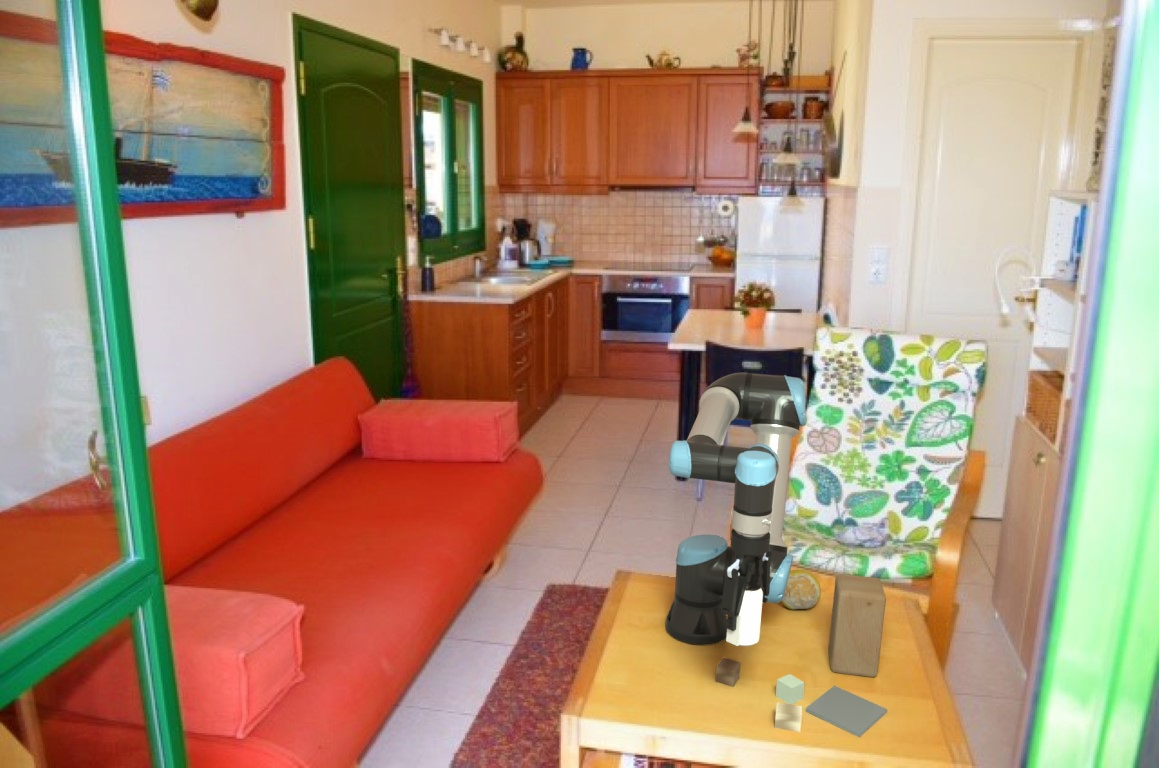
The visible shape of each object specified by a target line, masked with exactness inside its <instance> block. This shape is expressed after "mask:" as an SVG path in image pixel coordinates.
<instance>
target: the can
mask: <svg viewBox="0 0 1159 768" xmlns="http://www.w3.org/2000/svg"><path fill="white" fill-rule="evenodd" d="M762 599H763V592H762V589H761V584H760V583H755V582H752V581H750V582H749V583H747V586H746V589H745V593H744V597H743V601H742V605H741V609H740V613H739V614H741V615H742V621H741V634H740V645H739V646H741V647H751V646H754V645H756V644H758V642H759V641H760V636H761V626H762V625H761V624H762V621H761V620H762V611H763V609H762V608H763V602H762Z"/></svg>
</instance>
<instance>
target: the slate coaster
mask: <svg viewBox="0 0 1159 768" xmlns="http://www.w3.org/2000/svg"><path fill="white" fill-rule="evenodd" d="M805 712H806V713H809V714H810V715H813V716H814V717H816V718H818V719H821V720H823V721H825V722H826V723H830V724H831V725H833V726H836V727H837V728H840V729H841V730H844V731H845V732H847V733H850V734H852V735H854V736H856V737H858V738H860V737H861V736H863V735H864V734H865V733H866V732H867V731H868V730H870V729H871V727H872V726H874V725H875V724H876V723H877V722H878V721H879V720H880V719H882V718H883V717H884V716H885V715H886V714H887V713H888V708H886V707H883V705H882V706H881V705H879V704H877V703H874V702H872V701H870V700H868V699H867V698H864V697H862V696H859V695H856V694H855V693H852V692H850V691H849V690H848V691H847V690H845V689H843V688H841V687H839V686H837V685H833V686H832V687H831V688H829V689H828V690H827V691H825V692H824V693H823V694H821V695H820V696H819V697H817V698H816V699H815V700H814V701H813V702H811V703H810V704H809V705H807V706H806V707H805Z"/></svg>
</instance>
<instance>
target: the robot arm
mask: <svg viewBox="0 0 1159 768" xmlns="http://www.w3.org/2000/svg"><path fill="white" fill-rule="evenodd" d="M805 387H806V385H805V382H804V381H803V379H801V378H800V377H794V376H787V375H786V374H784V375H779V374H776V375H775V374H764V373H751V372H750V373H749V372H734V373H731V374H730V373H729V374H727V375H724V376H722V377H720V378H718V379H717V380H715V381H713V382H712V383H711V384H710V385H708V386H707V387H706V388H705V389H704V391H703V392H702V395H701V397H700V400H699V403H698V404H699V411H698V414H697V417H696V419H695V420H694V423H693V426H692V427H691V430H690V431H689V434H688V437H687V439H686V440H685V439H684V440H675V441H673V442H672V444H671V447H670V448H669V449H670V451H669V456H668V470H669V472H670V474H671V475H672V476H676V477H680V478H685V479H693V480H694V479H696V480H704V481H712V482H713V481H714V482H719V483H720V482H722V483H729V484H734V493H733V495H734V497H733V505H732V507H733V508H732V516H731V517H732V519H731V527H732V529H731V533H730V546H729V543H728V541H727V539H726V538H724V537H723V536H720V535H717V534H707V533H706V534H697V535H693V536H689V537H686V538H685V539H683V540H682V541H680V543H679V544H678V547H677V553H676V558H675V563H676V564H675V565H676V567H675V582H674V583H675V587H674V598H673V601H672V603H671V605H670V607H669V609H668V612H667V615H666V619H665V629H666V630H665V631H666V632H667V633H668V634H669V635H670V636H671V637H672V638H674V639H675V640H677V641H680V642H683V643H686V644H689V645H697V646H709V645H714V644H717V643H721V642H722V641H724V640H725V641H726V642H727V643H729V644H732V645H734V646H736V647H739V646H740V634H741V621H742V615H741V614H739V613H740V609H741V605H742V601H743V597H744V593H745V589H746V586H747V583H749V582H750V581H752V582H755V583H760V584H761V589H762V592H763V599H762V604H767V603H771V604H778V603H782V602H781V601H782V600H783V598H784V594H785V591H786V587H787V583H788V578H789V574H790V571H791V570H792V565H793V560H794V556H793V555H792V554H790V553H788V548H789V547H788V544H786V542H785V541H784V539H783V531H784V520H785V510H786V501H787V500H786V499H787V492H788V491H787V490H788V482H789V481H788V479H789V470H790V460H791V459H790V458H791V450H792V440H793V439H794V438H795V437H796V436H797V435H799V433H800V428H801V427H805V426H806V425H807V417H806V414H807V413H806V412H807V411H806V391H805V390H806V389H805ZM734 420H743V421H750V429H751V430H752V432H753V434H754V435H755V437H754V438H755V439H754V444H753V445H751V446H749V447H740V446H732V445H731V446H730V445H723V444H724V441H725V439H726V436H727V434H728V430H729V427H730V424H731V422H732V421H734Z"/></svg>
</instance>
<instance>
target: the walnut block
mask: <svg viewBox="0 0 1159 768" xmlns="http://www.w3.org/2000/svg"><path fill="white" fill-rule="evenodd" d="M715 671H716V672H715V682H716V683H718V684H722V685H724V686H725V685H726V686H728V687H732V688H734V687H735V685H736V684H737V682H738V681H739V680H740V674H741V673H740V672H741V661H737V660H733V659H730V658H727V657H722V658H721V659H720V661H719V662H718V663H717V664H716V670H715Z"/></svg>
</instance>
